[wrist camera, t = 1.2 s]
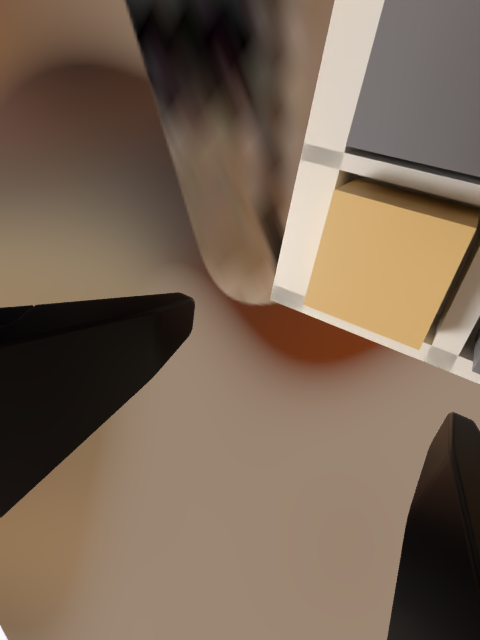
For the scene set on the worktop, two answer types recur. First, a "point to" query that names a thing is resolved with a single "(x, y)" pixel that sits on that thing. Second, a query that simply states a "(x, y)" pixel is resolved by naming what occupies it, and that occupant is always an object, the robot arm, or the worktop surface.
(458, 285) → the keypad
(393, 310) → the ochre key
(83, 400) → the robot arm
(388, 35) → the charcoal key near
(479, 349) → the charcoal key far
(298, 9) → the worktop surface
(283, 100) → the worktop surface
